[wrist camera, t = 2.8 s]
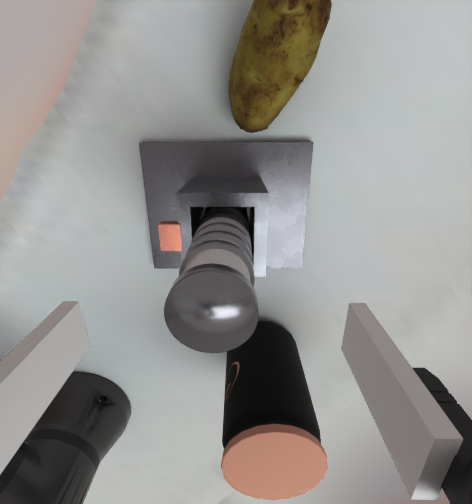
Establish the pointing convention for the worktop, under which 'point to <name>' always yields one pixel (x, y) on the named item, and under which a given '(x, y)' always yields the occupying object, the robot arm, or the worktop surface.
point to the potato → (274, 57)
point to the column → (215, 285)
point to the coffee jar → (270, 419)
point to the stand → (228, 196)
